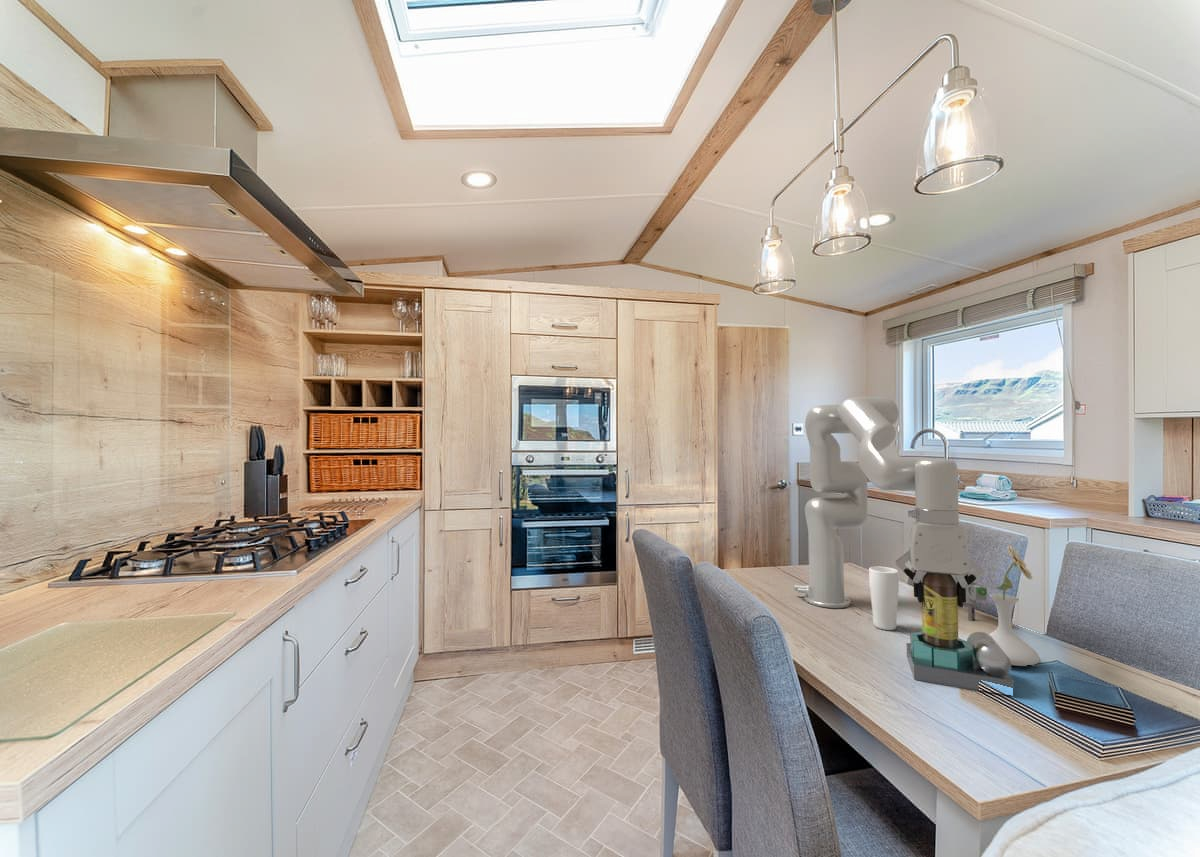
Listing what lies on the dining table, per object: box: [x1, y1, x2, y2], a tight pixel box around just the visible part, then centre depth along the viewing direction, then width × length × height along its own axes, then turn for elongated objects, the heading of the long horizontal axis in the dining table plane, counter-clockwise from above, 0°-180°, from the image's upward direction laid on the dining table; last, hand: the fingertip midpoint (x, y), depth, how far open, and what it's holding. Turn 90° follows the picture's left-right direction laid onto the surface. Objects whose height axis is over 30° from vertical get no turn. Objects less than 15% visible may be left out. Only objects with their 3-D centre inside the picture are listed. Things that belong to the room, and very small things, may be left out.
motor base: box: [906, 631, 1015, 692], centre depth 102 cm, size 16×12×8 cm
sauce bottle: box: [921, 572, 959, 649], centre depth 103 cm, size 6×6×20 cm
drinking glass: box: [868, 565, 900, 631], centre depth 128 cm, size 7×7×15 cm
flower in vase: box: [988, 544, 1041, 667], centre depth 109 cm, size 13×11×25 cm
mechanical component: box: [955, 578, 988, 621], centre depth 133 cm, size 3×10×10 cm, turn 174°
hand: (939, 602), depth 103 cm, fingers closed on sauce bottle, 6 cm apart
